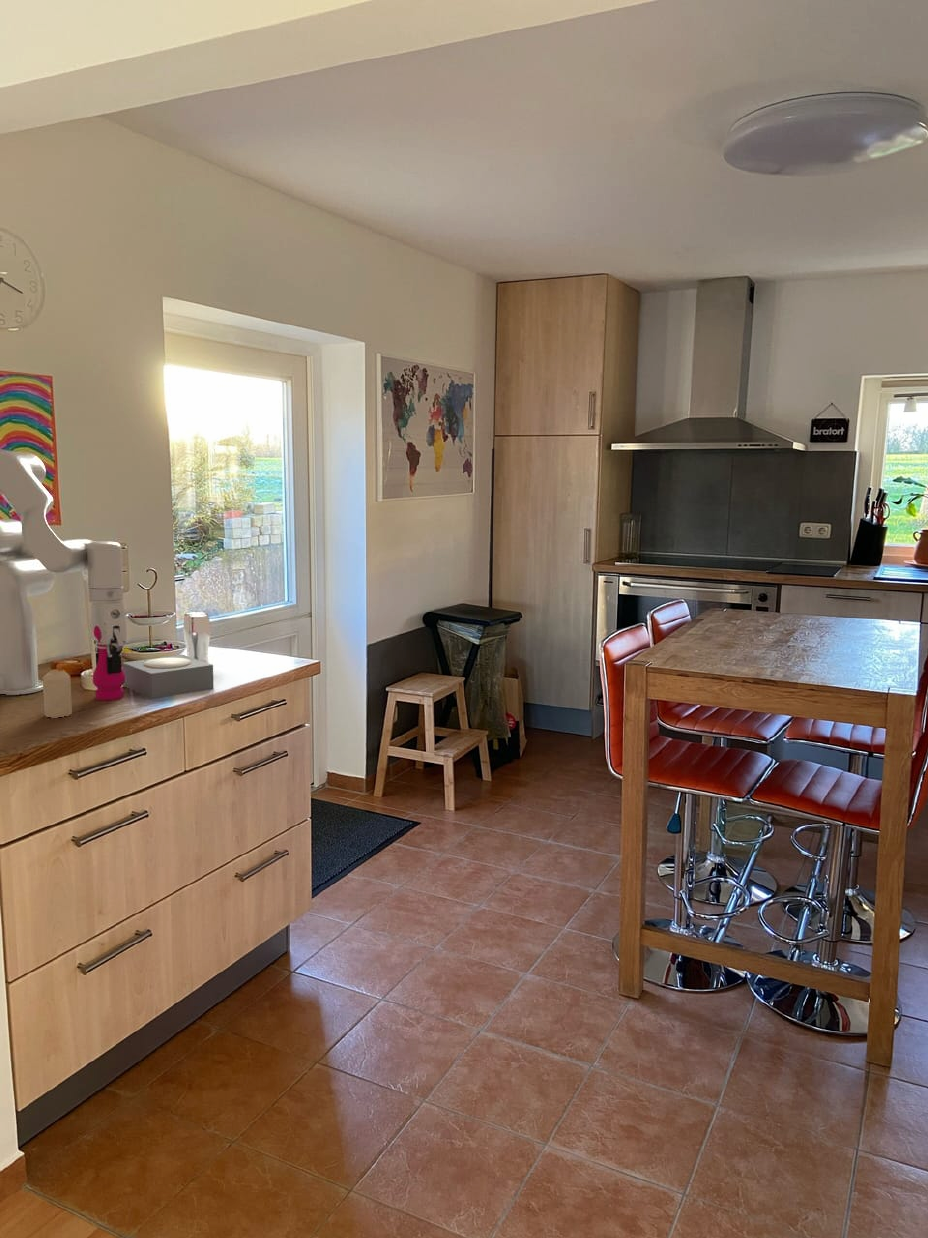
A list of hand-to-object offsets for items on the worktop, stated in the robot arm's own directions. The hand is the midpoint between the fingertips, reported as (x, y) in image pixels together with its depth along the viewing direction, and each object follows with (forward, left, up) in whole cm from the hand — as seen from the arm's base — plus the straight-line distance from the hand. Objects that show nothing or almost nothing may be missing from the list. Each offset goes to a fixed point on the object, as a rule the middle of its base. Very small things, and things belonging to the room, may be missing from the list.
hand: (108, 670), depth 212 cm
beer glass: (+31, +16, -7) cm, 36 cm away
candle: (-15, -8, -7) cm, 18 cm away
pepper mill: (0, 0, -7) cm, 7 cm away
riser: (+15, +1, -7) cm, 16 cm away
